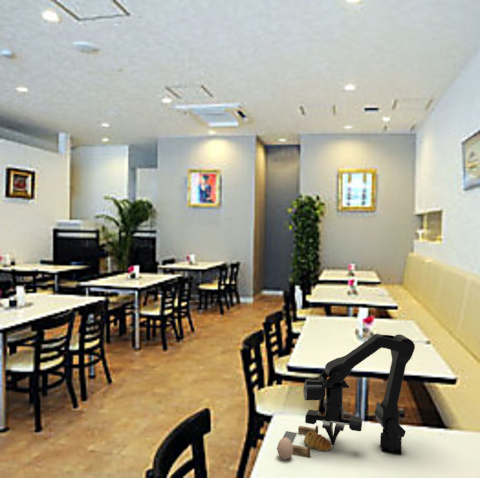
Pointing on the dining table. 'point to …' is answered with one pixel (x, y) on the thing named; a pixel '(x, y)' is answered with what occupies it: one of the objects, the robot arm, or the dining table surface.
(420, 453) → the dining table surface
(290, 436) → the mat
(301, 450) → the wooden blocks
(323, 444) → the pastry
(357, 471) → the dining table surface
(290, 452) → the egg
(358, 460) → the dining table surface
